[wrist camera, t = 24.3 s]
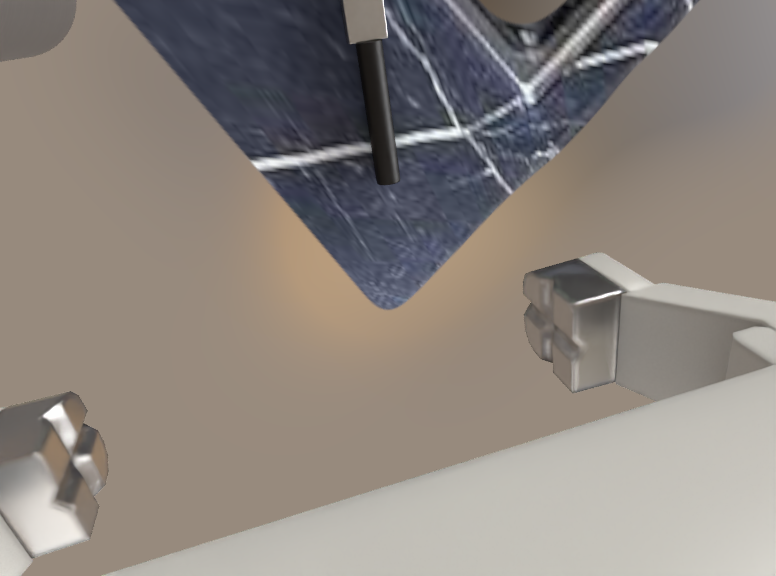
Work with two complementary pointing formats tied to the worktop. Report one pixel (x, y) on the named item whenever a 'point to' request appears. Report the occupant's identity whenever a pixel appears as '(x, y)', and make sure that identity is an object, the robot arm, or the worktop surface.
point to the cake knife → (373, 81)
